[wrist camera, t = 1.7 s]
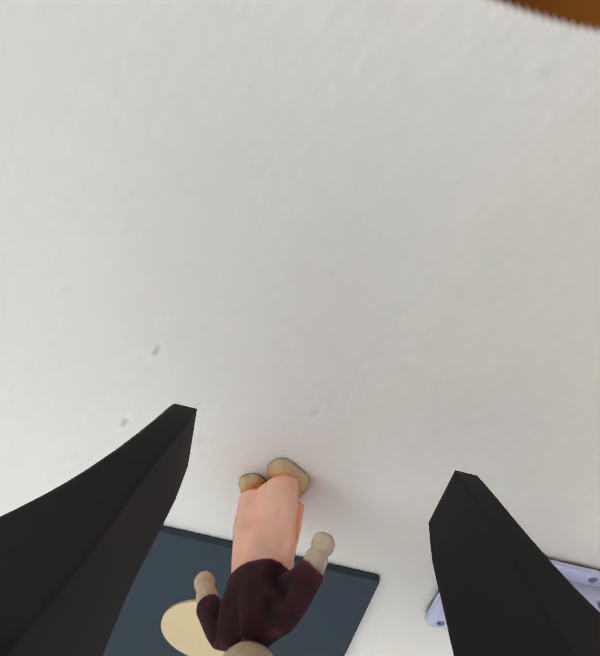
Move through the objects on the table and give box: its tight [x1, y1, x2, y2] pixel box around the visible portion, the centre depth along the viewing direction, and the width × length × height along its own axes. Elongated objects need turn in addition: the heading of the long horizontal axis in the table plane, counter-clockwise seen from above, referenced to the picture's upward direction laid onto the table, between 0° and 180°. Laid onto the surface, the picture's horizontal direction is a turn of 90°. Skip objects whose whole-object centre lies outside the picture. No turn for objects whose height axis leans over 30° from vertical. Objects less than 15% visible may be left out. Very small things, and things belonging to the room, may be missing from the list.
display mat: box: [103, 526, 379, 656], centre depth 32 cm, size 20×18×1 cm
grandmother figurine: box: [194, 458, 335, 656], centre depth 20 cm, size 8×4×13 cm, turn 133°
